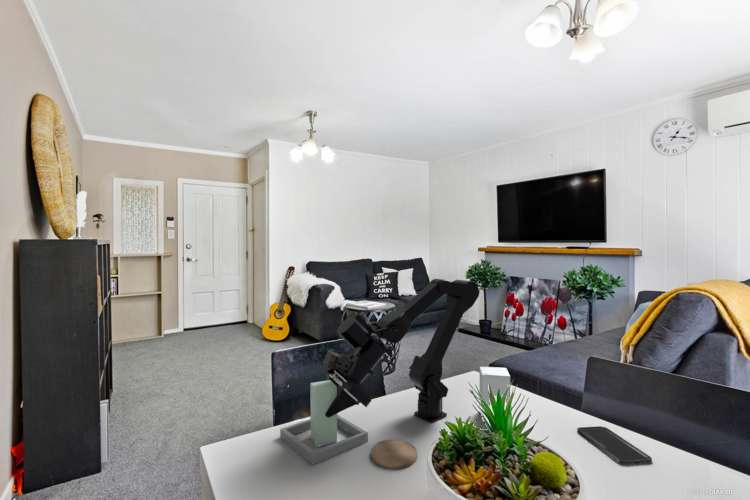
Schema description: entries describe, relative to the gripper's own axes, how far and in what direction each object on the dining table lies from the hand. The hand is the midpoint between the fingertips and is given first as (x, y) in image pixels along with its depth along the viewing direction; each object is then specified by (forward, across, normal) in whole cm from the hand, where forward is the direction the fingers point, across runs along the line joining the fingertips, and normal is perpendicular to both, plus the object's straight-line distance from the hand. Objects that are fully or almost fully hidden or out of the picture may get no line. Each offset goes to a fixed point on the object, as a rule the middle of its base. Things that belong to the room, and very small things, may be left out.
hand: (322, 411), depth 90 cm
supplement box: (-27, +9, +37) cm, 46 cm away
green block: (+5, 0, +5) cm, 7 cm away
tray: (+5, 0, +5) cm, 7 cm away
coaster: (-4, +13, +13) cm, 19 cm away
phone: (-37, +31, +47) cm, 67 cm away
